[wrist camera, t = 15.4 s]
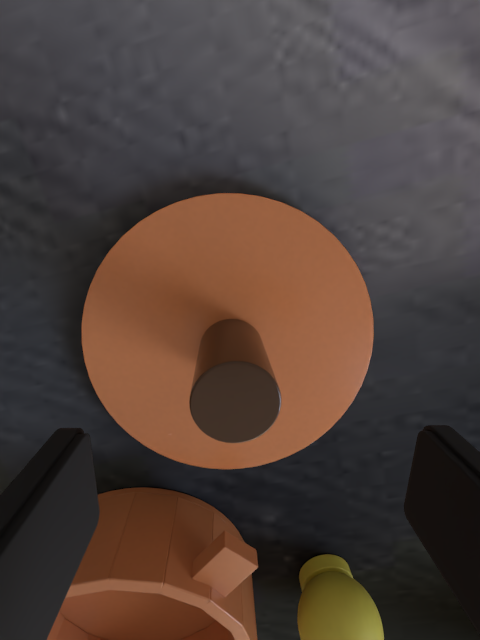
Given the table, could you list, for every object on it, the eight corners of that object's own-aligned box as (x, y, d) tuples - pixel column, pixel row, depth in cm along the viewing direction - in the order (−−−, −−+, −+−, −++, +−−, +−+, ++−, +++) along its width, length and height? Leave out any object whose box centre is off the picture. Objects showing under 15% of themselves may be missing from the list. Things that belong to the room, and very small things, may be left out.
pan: (-23, 609, 24) (-101, 730, 18) (145, 419, 20) (114, 495, 14) (146, 684, 27) (126, 806, 21) (316, 534, 24) (346, 632, 18)
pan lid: (32, 359, 19) (-76, 433, 12) (212, 122, 16) (205, 40, 9) (243, 497, 22) (253, 615, 15) (420, 326, 19) (527, 377, 13)
